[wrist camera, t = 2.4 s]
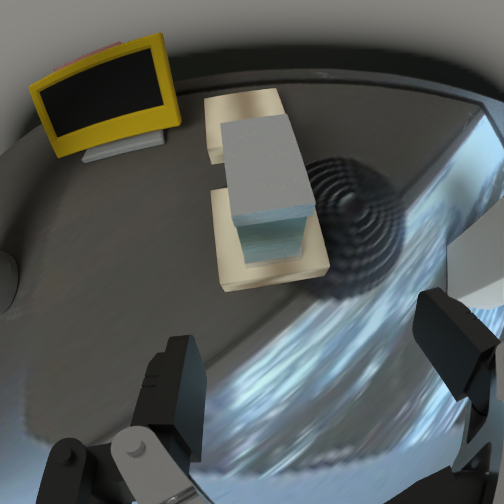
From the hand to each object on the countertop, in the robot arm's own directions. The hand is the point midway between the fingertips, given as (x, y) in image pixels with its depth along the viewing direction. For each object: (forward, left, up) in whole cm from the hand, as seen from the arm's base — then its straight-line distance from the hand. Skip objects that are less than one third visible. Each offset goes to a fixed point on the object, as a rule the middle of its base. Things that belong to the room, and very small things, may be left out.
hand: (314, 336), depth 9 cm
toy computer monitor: (-18, +32, -18) cm, 41 cm away
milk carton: (+23, +3, -18) cm, 29 cm away
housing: (0, +12, -15) cm, 19 cm away
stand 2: (0, +12, -18) cm, 21 cm away
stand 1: (0, +28, -18) cm, 33 cm away
